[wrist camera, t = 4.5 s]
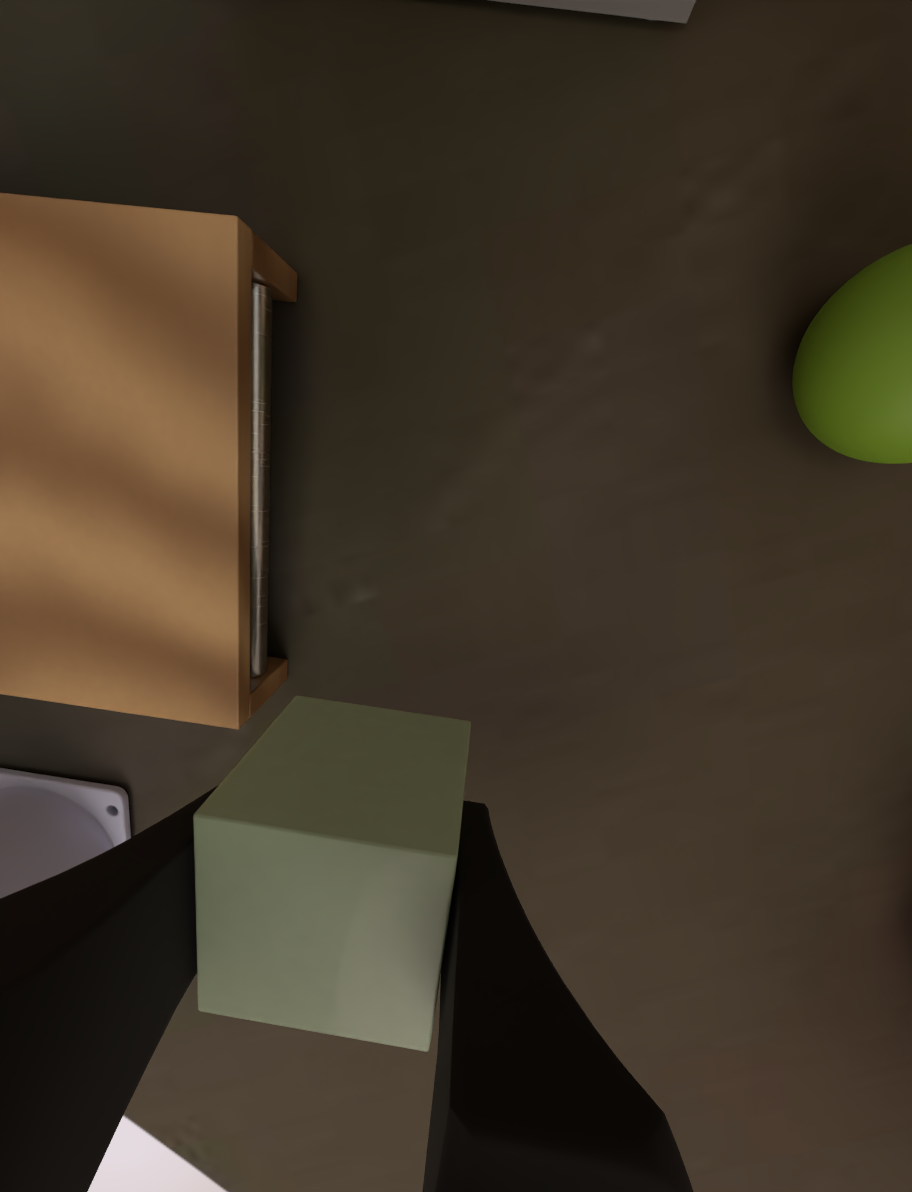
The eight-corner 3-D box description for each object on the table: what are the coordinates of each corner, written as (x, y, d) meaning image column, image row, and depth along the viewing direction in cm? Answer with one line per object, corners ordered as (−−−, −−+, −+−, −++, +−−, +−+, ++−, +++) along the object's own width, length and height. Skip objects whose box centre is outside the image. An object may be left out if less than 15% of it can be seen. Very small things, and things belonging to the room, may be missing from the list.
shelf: (287, 679, 20) (238, 730, 16) (53, 645, 21) (-48, 687, 17) (298, 272, 16) (237, 214, 13) (9, 243, 17) (-135, 178, 13)
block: (450, 866, 14) (429, 1053, 9) (290, 840, 14) (196, 1012, 10) (471, 720, 12) (457, 856, 8) (295, 694, 13) (192, 814, 8)
